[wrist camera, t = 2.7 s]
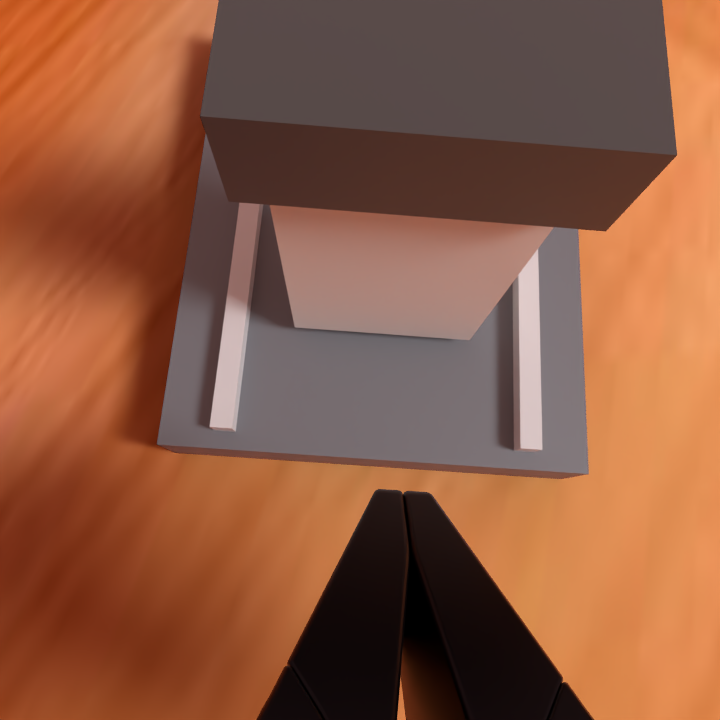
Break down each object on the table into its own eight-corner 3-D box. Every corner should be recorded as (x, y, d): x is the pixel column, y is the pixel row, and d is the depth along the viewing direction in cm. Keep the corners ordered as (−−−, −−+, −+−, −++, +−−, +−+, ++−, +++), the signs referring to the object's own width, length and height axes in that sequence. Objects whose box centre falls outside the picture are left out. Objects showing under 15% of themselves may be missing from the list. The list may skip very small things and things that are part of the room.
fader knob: (486, 358, 16) (676, 155, 7) (275, 342, 16) (199, 115, 7) (487, 231, 18) (654, -84, 8) (288, 215, 17) (239, -122, 8)
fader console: (561, 478, 18) (597, 472, 16) (175, 452, 18) (150, 441, 15) (549, 80, 22) (577, 24, 20) (234, 53, 22) (222, -7, 19)
